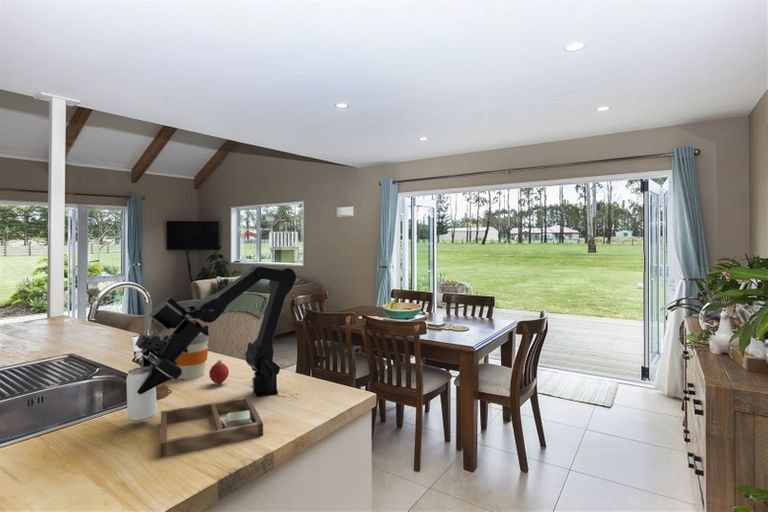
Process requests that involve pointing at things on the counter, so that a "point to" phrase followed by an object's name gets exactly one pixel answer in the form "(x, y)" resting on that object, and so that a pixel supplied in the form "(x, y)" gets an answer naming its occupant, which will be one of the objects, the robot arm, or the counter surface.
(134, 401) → the can
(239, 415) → the offcut stack
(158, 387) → the wooden pepper mill
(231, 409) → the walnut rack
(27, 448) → the counter surface
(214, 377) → the red pomegranate
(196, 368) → the reusable coffee cup
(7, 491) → the counter surface
